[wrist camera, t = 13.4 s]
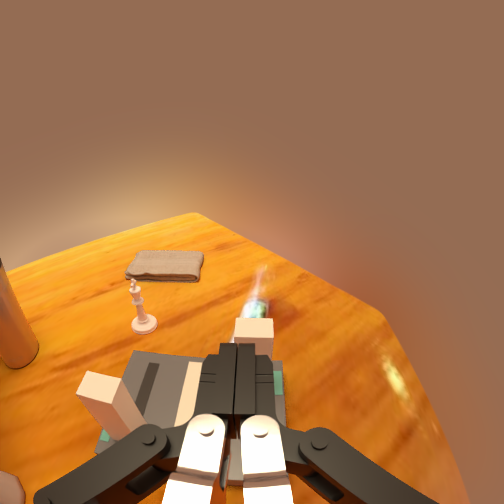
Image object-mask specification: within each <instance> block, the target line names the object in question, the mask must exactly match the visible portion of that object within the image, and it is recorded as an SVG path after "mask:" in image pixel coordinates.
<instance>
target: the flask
mask: <svg viewBox="0 0 504 504" xmlns="http://www.w3.org/2000/svg"><path fill="white" fill-rule="evenodd" d="M24 499H25V492H24V490H23V488H22V486H21V484H20V482H19V479H18V477H17V476H14V475H11V474H9V473H6V472H4V471H0V504H24Z"/></svg>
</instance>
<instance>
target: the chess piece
mask: <svg viewBox="0 0 504 504" xmlns="http://www.w3.org/2000/svg"><path fill="white" fill-rule="evenodd" d="M131 283H132V284H131V285H130V286H131V288H130V290H129V292H130V293H131V295H132V296H133V298H134V299H133V300H132V304H134V305H136V307H137V314H138V316H137V317H136V318H135V319H134V320H133V321H132V329H133V331H134V332H135V333H137V334H148V333H151V332H153V331H154V330H155V329H156V327H157V325H158V323H157V320H156V318H155V317H154V316H152V315H150V314H146V313H145V311H144V309H143V306H142V303H143V302H144V299H143V298H142V297H140V292H141V288H140V287H139V286H136V285H135V284H136V280H134V279H131Z"/></svg>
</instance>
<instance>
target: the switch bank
mask: <svg viewBox="0 0 504 504" xmlns="http://www.w3.org/2000/svg"><path fill="white" fill-rule="evenodd" d="M205 359H206V358H198V357H187V356H176V355H167V354H158V353H150V352H143V351H136V350H134V351H133V353H132V356H131V358H130V360H129V363H128V365H127V367H126V370H125V372H124V375H123V377H122V381H123V383H124V385H125V387H126V388H127V390H128V392H129V394H130V396H131V398H132V399H133V401H134V403H135V405H136V406H137V408H138V410H139V411H140V413H141V415H142V416H143V418H144V420H145V421H146V423H147V424H154V425H157V426H159V427H160V428H162V429H164V428H171V427H176V426H180V425H183V424H184V423H186V422H187V421H189V419H190V418H191V417H192V415H193V413H194V408H195V402H196V396H197V390H198V385H199V379H200V375H201V367H202V363H203V361H204V360H205ZM272 363H273V373H274V390H275V408H276V416H277V419H278V420H279V422H280V423H281V424H282V425H284V426H285V427H286V417H285V399H284V383H283V367H282V361H272ZM116 442H118V441H117V440H113V439H112V438H111V437H110V436H109V435H108V433H107V432H106V431H105V430H104V429H102V431H101V434H100V437H99V440H98V443H97V446H96V449H95V453H96V454H97V455H98V454H100V453H101V452H103V451H104V450H106V449H107V448H109V447H110V446H112V445H113V444H115V443H116ZM230 449H231V461H230V468H229V475H228V481H227V485H233V486H243V463H242V450H241V443H240V439H238V435H237V439H231V446H230ZM287 476H288V473H287Z"/></svg>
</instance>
